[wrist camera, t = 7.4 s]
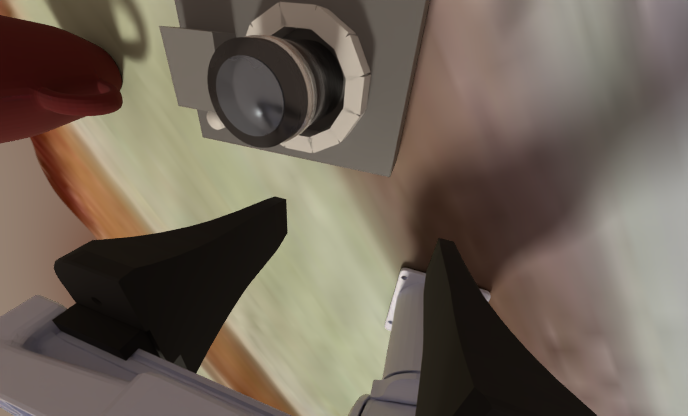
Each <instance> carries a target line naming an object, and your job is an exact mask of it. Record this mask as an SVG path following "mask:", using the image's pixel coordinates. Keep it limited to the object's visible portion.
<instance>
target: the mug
mask: <svg viewBox="0 0 688 416" xmlns="http://www.w3.org/2000/svg"><path fill="white" fill-rule="evenodd" d="M121 86H122V79H121V75H120V72H119V69H118V67H117V65H116V63H115V62H114V60H113V59H112V58H111V56H110V55H109V54H108V53H107V52H106V51H105V50H103V49H102V48H101V47H99V46H97V45H95V44H93V43H91V42H89V41H87V40H85V39H83V38H81V37H78V36H76V35H74V34H72V33H70V32H67V31H65V30H62V29H59V28H56V27H53V26H49V25H45V24H40V23H35V22H31V21H26V20H21V19H16V18H11V17H7V16H2V15H0V143H4V142H10V141H15V140H19V139H24V138H28V137H32V136H35V135H38V134H42V133H44V132H47V131H50V130H52V129H55V128H57V127H60V126H63V125H65V124H68V123H70V122H73V121H75V120H78V119H80V118H83V117H85V116H97V115H104V114H109V113H112V112H115V111H117V110H118V109H120V108H121V106H122V103H123V101H122V95H121V93H120V89H121Z"/></svg>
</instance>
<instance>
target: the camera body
mask: <svg viewBox="0 0 688 416" xmlns="http://www.w3.org/2000/svg"><path fill="white" fill-rule="evenodd" d="M429 2H430V0H175V5H176V10H177V14H178V19H179V24H180V27H166V26H159V27H160V31H161V35H162V39H163V43H164V48H165V52H166V56H167V60H168V64H169V68H170V72H171V76H172V81H173V85H174V89H175V93H176V97H177V101H178V105H179V106H182V107H188V108H193V109H197V111H198V116H199V121H200V126H201V131H202V135H203V137H204V138H209V139H214V140H218V141H223V142H228V143H232V144H237V145H242V146H246V147H251V148H256V149H260V150H265V151H270V152H274V153H279V154H284V155H288V156H293V157H298V158H302V159H307V160H312V161H316V162H321V163H326V164H330V165H335V166H340V167H344V168H349V169H354V170H358V171H363V172H368V173H372V174H377V175H382V176H387V177H390V176H391V173H392V171H393V168H394V166H395V163H396V160H397V155H398V151H399V146H400V141H401V136H402V131H403V127H404V122H405V117H406V112H407V108H408V103H409V98H410V93H411V88H412V84H413V79H414V74H415V69H416V65H417V60H418V55H419V50H420V45H421V41H422V36H423V31H424V26H425V22H426V17H427V12H428V7H429ZM249 35H268V36H275V37H278V38H281V39H306V40H313V41H317V42H319V43H321V44H323V45H324V46H326V47H327V48H328V49H329V50H330V51H331V52H332V53H333V55H334V56H335V58H336V59H337V61H338V63H339V66H340V68H341V72H342V77H343V90H342V95H341V98H340V101H339V103H338V104H337V106H336V108H335V109H334V110H333V111H332V112H331V113H330V114H328V115H326V116H325V117H323V118H322V119H320V120H318V121H317V122H315V123H313V124H312V125H310V126H308V127H307V128H306V130H304V131H303V132H302V133H301V134H299V135H297V136H296V137H294V138H293V139H291V140H289V141H287V142H283V143H280V144H279V145H276V146H274V147H269V148H259V147H254V146H251V145H248V144H246V143H244V142H242V141H241V140H239V139H238V138H236V137H235V136H234V135H233V134H232V133H231V132H230V131H229V130H228V129H227V128H226V127H225V126H224V124H223V123H222V122H221V120H220V119H219V117H218V115H217V114H216V112H215V110H214V107H213V105H212V102H211V99H210V95H209V91H208V82H207V75H208V67H209V63H210V60H211V58H212V55H213V54H214V52H215V50H216V49H217V48H218V47H219V46H220V45H221V44H222V43H224V42H225V41H227V40H229V39H232V38H236V37H246V36H249Z"/></svg>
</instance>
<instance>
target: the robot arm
mask: <svg viewBox="0 0 688 416" xmlns="http://www.w3.org/2000/svg"><path fill="white" fill-rule="evenodd" d="M286 234H287V209H286V199H282V198H279V197H272V198H269V199H266V200H264V201H261V202H259V203H256V204H254V205H251V206H249V207H246V208H244V209H241V210H239V211H236V212H234V213H231V214H228V215H225V216H222V217H220V218H217V219H214V220H211V221H208V222H204V223H201V224H197V225H193V226H190V227H185V228H181V229H176V230H171V231H166V232H161V233H155V234H149V235H142V236H135V237H127V238H115V239H104V240H92V241H90V242H88V243H87V244H85V245H83V246H81V247H79V248H77V249H76V250H74V251H72V252H70V253H68V254H66V255H65V256H63V257H61V258H59V259H58V260H56V261H55V264H54V270H55V273H56V275H57V276H58V278H59V279H60V281H61V282H62V284H63V285H64V286H65V288H66V289H67V291H68V292H69V294H70V295H71V296H72V298H73V299H74V300H75V302H76V304H74V305H73V306H71V307H70V308H69V309H66V308H65V307H64V306H63V305H61V304H59V303H57V302H55V301H53V300H50V299H48V298H46V297H43V296H41V295H35V296H34V297H32V298H30V299H28V300H27V301H25V302H23V303H22V304H20V305H19V306H17V307H15V308H14V309H12V310H10V311H9V312H7V313H5V314H4V315H2V316H1V317H0V407H1V408H2V409H4V410H6V411H7V412H9V413H11V414H12V415H14V416H291V415H289V414H287V413H284V412H282V411H280V410H278V409H275V408H273V407H271V406H268V405H266V404H264V403H262V402H259V401H257V400H255V399H253V398H250V397H248V396H246V395H243V394H241V393H239V392H237V391H234V390H232V389H230V388H228V387H225V386H223V385H221V384H218V383H216V382H214V381H212V380H209V379H207V378H205V377H203V376H200V375H198V374H196V373H197V371H198V369H199V367H200V365H201V363H202V361H203V359H204V358H205V356H206V354H207V352H208V350H209V348H210V346H211V345H212V343H213V341H214V339H215V338H216V336H217V334H218V332H219V331H220V329H221V327H222V325H223V324H224V322H225V321H226V319H227V317H228V316H229V314H230V312H231V311H232V309H233V307H234V306H235V304H236V303H237V301H238V300H239V298H240V297H241V295H242V294H243V292H244V291H245V289H246V288H247V287H248V285H249V284H250V283H251V281H252V280H253V279H254V278H255V277H256V275H257V274H258V273H259V272H260V270H261V269H262V268H263V267H264V266H265V264H266V263H267V262H268V261H269V259H270V258H271V257H272V256H273V254H274V253H275V252H276V251H277V249H278V248H279V246H280V245H281V243H282V241H283V240H284V238H285V236H286ZM403 276H406V277H403ZM490 297H491V296H490V293H489V292H488V291H486V290H483V289H480V288H478V286H477V284H476V283H475V281H474V279H473V278H472V276H471V274H470V272H469V271H468V269H467V267H466V265H465V263H464V261H463V259H462V257H461V255H460V253H459V251H458V249H457V247H456V245H455V243H454V242H453V241H449V240H445V239H441V238H438V241H437V244H436V247H435V249H434V252H433V255H432V258H431V260H430V263H429V266H428V269H427V271H426V273H423V272H419V271H416V270H412V269H409V268H402V269H401V270H400V273H399V277H398V280H397V284H396V287H395V291H394V294H393V298H392V301H391V305H390V308H389V311H388V315H387V318H386V322H385V328H386V329H387V330H390V331H391V334H390V339H389V345H388V350H387V356H386V361H385V367H384V373H383V378H382V380H373V385H372V390H371V395H369V394H365V395H362V396H361V397H360V398H359V399H358V400H357V401H356V403H355V405H354V406H353V407H352V409H351V410H350V412H349V414H348V416H597V415H596V414H595V413H594V412H593V411H592V410H591V409H589V408H588V407H587V406H586V405H585V404H584V403H583V402H582V401H580V400H579V399H578V398H577V397H576V396H575V395H574V394H573V393H571V392H570V391H569V390H568V389H567V388H566V387H565V386H564V385H562V384H561V383H560V382H559V381H558V380H557V379H556V378H555V377H554V376H553V375H552V374H551V373H550V372H549V371H548V370H547V369H546V368H545V367H544V366H543V365H542V364H541V363H540V362H539V361H538V360H537V359H536V358H535V357H534V356H533V355H532V354H531V353H530V352H529V351H528V350H527V349H526V348H525V347H524V346H523V344H522V343H521V342H520V341H519V340H518V339H517V338H516V337H515V335H514V334H513V333H512V332H511V331H510V330H509V329H508V327H507V326H506V325H505V324H504V323H503V321H502V320H501V319H500V317H499V316H498V315H497V314H496V312H495V311H494V310H493V308H492V307H491V306H490V304H489V303H488V301H489V300H490Z"/></svg>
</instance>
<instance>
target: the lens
mask: <svg viewBox="0 0 688 416" xmlns="http://www.w3.org/2000/svg"><path fill="white" fill-rule="evenodd" d="M207 82H208V91H209V95H210V99H211V102H212V105H213V107H214V110H215V112H216V114H217V115H218V117H219V119H220V120H221V122H222V123H223V124H224V126H225V127H226V128H227V129H228V130H229V131H230V132H231V133H232V134H233V135H234V136H235V137H236V138H238V139H239V140H241V141H242V142H244V143H246V144H248V145H251V146H254V147H259V148H269V147H274V146H276V145H279V144H280V143H283V142H287V141H289V140H291V139H293V138H294V137H296V136H297V135H299V134H301V133H302V132H303V131H304V130H306V128H307V127H308V126H310V125H312V124H313V123H315V122H317V121H318V120H320V119H322V118H323V117H325V116H326V115H328V114H330V113H331V112H332V111H333V110H334V109H335V108H336V106H337V104H338V103H339V101H340V98H341V95H342V90H343V77H342V72H341V68H340V66H339V63H338V61H337V59H336V58H335V56H334V55H333V53H332V52H331V51H330V50H329V49H328V48H327V47H326V46H324V45H323V44H321V43H319V42H317V41H313V40H306V39H281V38H278V37H275V36H268V35H249V36H246V37H236V38H232V39H229V40H227V41H225V42H224V43H222V44H221V45H220V46H219V47H218V48H217V49H216V50H215V52H214V54H213V55H212V58H211V60H210V63H209V67H208V75H207Z"/></svg>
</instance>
